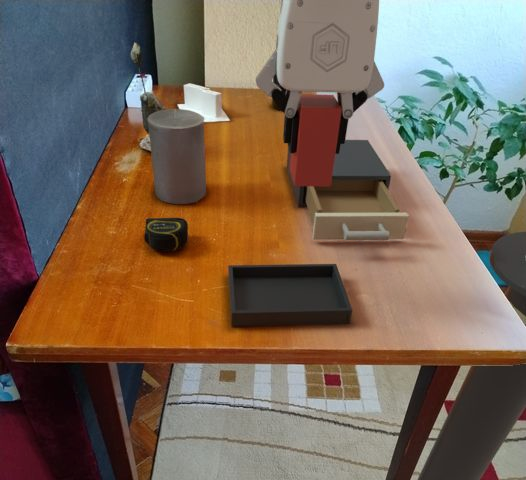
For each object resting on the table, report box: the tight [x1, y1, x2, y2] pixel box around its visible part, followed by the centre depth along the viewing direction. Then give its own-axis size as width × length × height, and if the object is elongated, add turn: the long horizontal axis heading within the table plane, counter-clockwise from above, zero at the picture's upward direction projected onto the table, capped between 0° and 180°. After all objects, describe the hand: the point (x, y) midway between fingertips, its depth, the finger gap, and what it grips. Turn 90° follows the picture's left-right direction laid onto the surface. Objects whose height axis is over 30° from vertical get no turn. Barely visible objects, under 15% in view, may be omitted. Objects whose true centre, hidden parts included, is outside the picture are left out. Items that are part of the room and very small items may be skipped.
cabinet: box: [286, 139, 392, 208], centre depth 96 cm, size 18×17×6 cm
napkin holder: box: [177, 82, 231, 123], centre depth 126 cm, size 15×11×6 cm
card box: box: [290, 93, 342, 186], centre depth 58 cm, size 4×5×9 cm
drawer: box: [304, 180, 410, 241], centre depth 85 cm, size 21×15×4 cm
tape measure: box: [143, 217, 189, 252], centre depth 78 cm, size 7×7×4 cm
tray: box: [227, 263, 354, 328], centre depth 69 cm, size 16×11×2 cm
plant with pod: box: [130, 42, 167, 152], centre depth 102 cm, size 8×11×20 cm
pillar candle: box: [148, 108, 207, 205], centre depth 88 cm, size 10×10×15 cm
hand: (313, 147), depth 59 cm, fingers closed on card box, 4 cm apart
